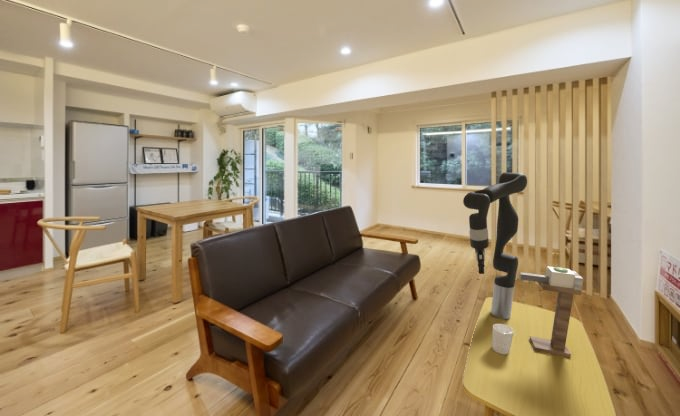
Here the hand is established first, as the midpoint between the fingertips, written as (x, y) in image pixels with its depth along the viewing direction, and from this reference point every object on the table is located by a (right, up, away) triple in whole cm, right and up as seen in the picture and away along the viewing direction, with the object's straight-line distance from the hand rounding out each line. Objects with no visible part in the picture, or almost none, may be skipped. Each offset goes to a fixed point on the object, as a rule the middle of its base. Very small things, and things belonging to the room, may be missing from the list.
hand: (481, 268), depth 138 cm
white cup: (+5, -34, -8) cm, 35 cm away
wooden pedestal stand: (+27, -34, -6) cm, 44 cm away
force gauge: (+23, -4, -9) cm, 25 cm away
